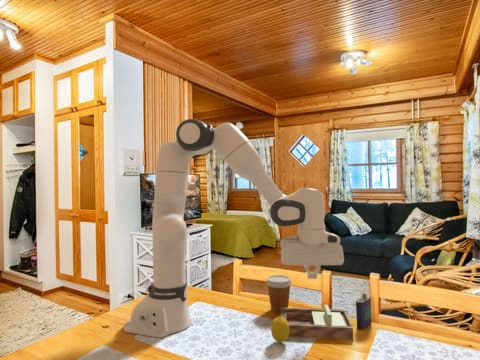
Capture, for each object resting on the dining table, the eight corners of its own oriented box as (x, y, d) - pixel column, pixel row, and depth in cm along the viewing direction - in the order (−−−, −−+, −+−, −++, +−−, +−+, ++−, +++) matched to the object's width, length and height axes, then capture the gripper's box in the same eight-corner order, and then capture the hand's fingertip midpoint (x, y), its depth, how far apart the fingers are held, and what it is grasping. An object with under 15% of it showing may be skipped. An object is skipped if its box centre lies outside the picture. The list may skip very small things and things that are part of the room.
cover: (314, 327, 96) (314, 315, 96) (311, 313, 106) (311, 302, 106) (346, 328, 94) (346, 317, 94) (340, 314, 105) (339, 303, 105)
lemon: (289, 348, 88) (288, 321, 88) (270, 347, 89) (269, 319, 89) (290, 339, 94) (289, 313, 94) (272, 337, 95) (271, 311, 95)
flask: (365, 318, 106) (364, 288, 106) (374, 321, 104) (373, 290, 104) (355, 328, 99) (354, 295, 100) (364, 331, 97) (363, 298, 98)
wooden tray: (280, 336, 95) (280, 324, 95) (280, 316, 109) (280, 306, 109) (353, 339, 92) (353, 328, 92) (344, 319, 106) (343, 309, 106)
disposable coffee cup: (274, 303, 122) (274, 273, 122) (296, 308, 116) (295, 277, 116) (262, 311, 114) (261, 279, 114) (284, 317, 108) (284, 284, 108)
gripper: (281, 238, 97) (281, 281, 97) (345, 237, 97) (346, 281, 97) (279, 234, 104) (279, 275, 104) (339, 234, 103) (339, 275, 103)
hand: (312, 278), depth 100 cm, fingers closed
